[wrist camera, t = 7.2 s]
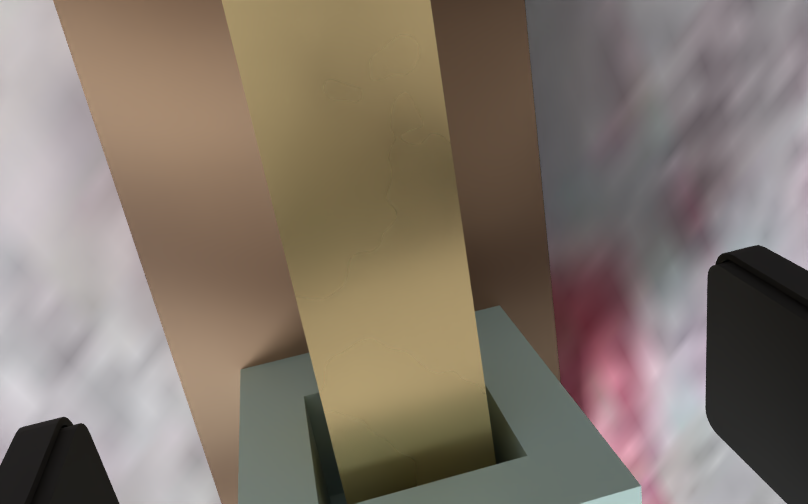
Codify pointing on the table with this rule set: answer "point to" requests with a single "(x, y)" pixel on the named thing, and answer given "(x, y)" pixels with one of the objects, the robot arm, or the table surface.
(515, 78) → the walnut base board
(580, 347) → the table surface
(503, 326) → the sage socket block
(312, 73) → the brass inner tube
